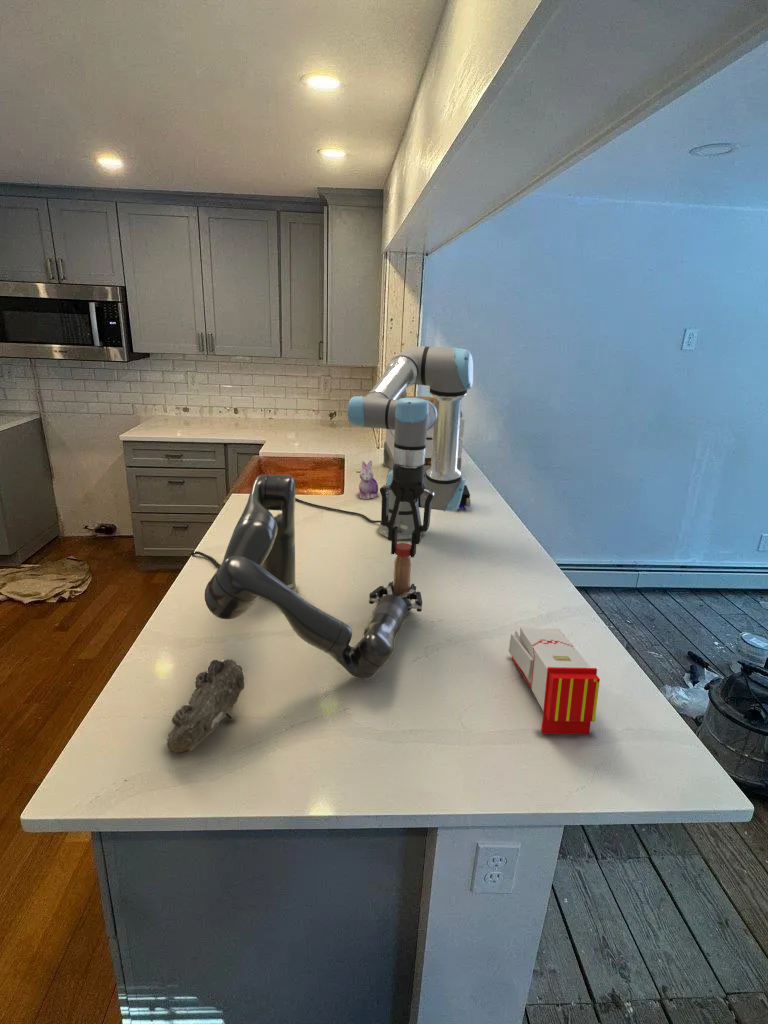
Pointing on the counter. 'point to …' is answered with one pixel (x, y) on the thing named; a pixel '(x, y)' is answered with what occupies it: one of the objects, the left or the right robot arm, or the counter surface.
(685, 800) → the counter surface
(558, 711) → the toy
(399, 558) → the bottle
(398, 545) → the cap
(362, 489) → the figurine
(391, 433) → the grey tiered storage bin
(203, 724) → the fossil
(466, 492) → the figurine character
